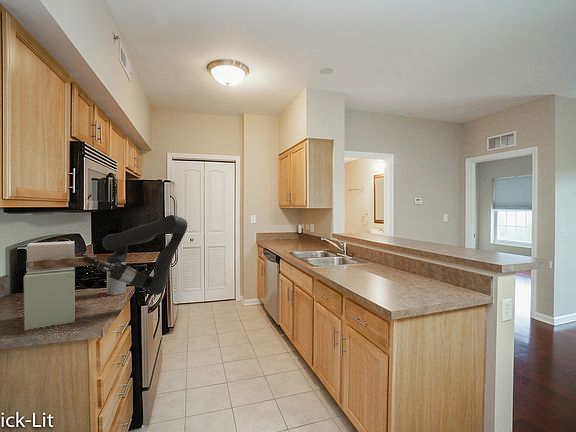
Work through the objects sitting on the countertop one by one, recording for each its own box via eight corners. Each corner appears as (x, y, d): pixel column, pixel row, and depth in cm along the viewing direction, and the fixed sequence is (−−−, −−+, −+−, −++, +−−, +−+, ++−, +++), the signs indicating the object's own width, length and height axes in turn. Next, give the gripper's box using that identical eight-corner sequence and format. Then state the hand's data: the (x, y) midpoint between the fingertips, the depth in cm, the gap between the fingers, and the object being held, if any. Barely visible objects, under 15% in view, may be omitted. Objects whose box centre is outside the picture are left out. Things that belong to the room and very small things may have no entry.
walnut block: (96, 263, 136) (95, 255, 136) (96, 264, 133) (96, 256, 133) (27, 269, 123) (27, 260, 122) (26, 270, 120) (26, 261, 119)
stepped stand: (30, 315, 134) (29, 243, 133) (74, 308, 143) (74, 241, 142) (24, 330, 117) (23, 248, 116) (74, 321, 127) (74, 245, 126)
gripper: (125, 263, 147) (88, 248, 139) (129, 268, 136) (89, 252, 127) (116, 277, 145) (78, 263, 137) (120, 283, 134) (79, 268, 125)
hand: (84, 257), depth 132 cm, fingers closed on walnut block, 3 cm apart
